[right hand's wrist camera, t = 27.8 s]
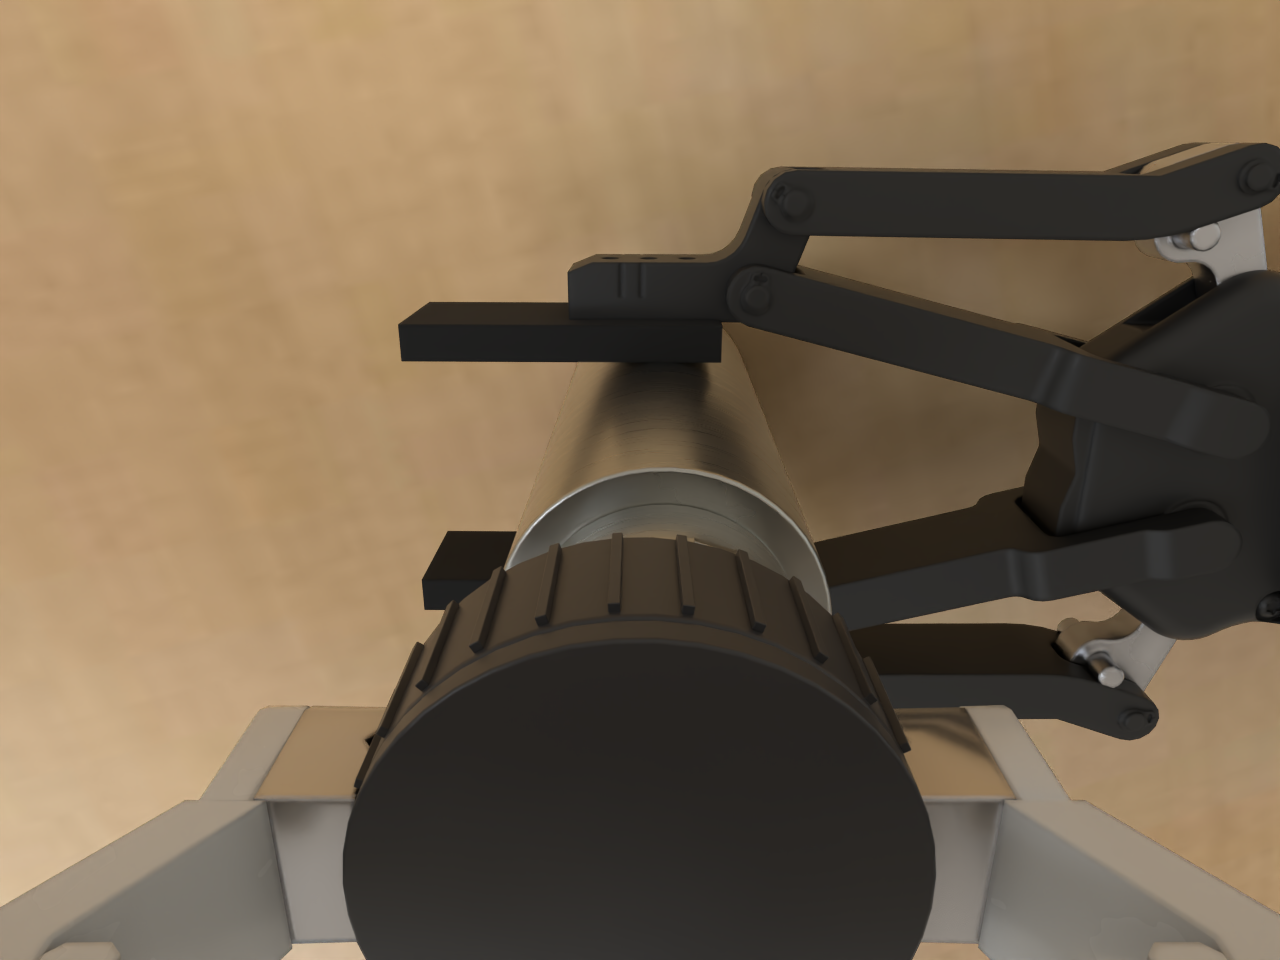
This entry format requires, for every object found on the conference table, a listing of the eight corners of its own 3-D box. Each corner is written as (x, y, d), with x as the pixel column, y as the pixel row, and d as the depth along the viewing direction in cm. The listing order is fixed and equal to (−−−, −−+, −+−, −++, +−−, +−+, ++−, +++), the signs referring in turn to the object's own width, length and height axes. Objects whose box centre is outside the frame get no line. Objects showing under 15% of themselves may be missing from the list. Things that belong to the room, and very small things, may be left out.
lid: (346, 546, 9) (270, 655, 7) (892, 506, 9) (961, 608, 7) (432, 951, 11) (391, 1122, 9) (883, 924, 11) (935, 1090, 9)
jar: (666, 264, 25) (680, 437, 10) (782, 394, 26) (938, 711, 12) (538, 383, 26) (389, 685, 12) (654, 501, 27) (651, 909, 13)
